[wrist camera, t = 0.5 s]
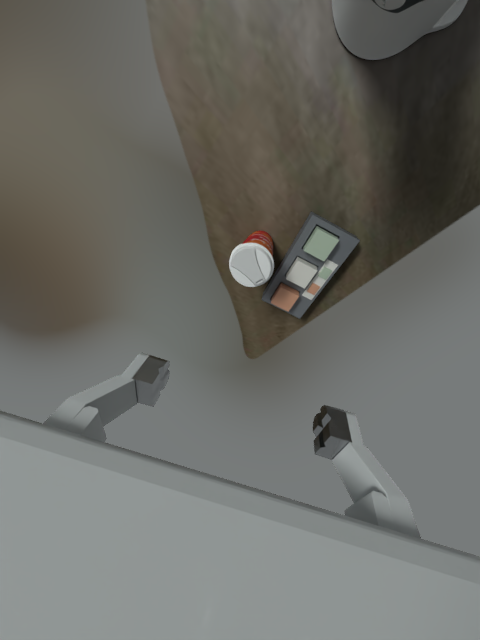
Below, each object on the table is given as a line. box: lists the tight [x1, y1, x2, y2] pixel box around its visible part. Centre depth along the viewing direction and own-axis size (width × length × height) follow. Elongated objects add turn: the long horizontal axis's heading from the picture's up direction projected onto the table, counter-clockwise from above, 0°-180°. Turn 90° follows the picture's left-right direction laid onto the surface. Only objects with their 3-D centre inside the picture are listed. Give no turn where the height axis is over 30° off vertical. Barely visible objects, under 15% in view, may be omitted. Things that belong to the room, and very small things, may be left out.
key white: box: [286, 256, 317, 289], centre depth 47 cm, size 4×4×2 cm
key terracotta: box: [271, 283, 299, 311], centre depth 51 cm, size 4×4×2 cm
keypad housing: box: [262, 212, 360, 319], centre depth 49 cm, size 20×10×4 cm, turn 156°
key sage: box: [303, 226, 339, 261], centre depth 43 cm, size 4×4×2 cm
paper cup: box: [229, 231, 274, 287], centre depth 44 cm, size 8×8×14 cm
